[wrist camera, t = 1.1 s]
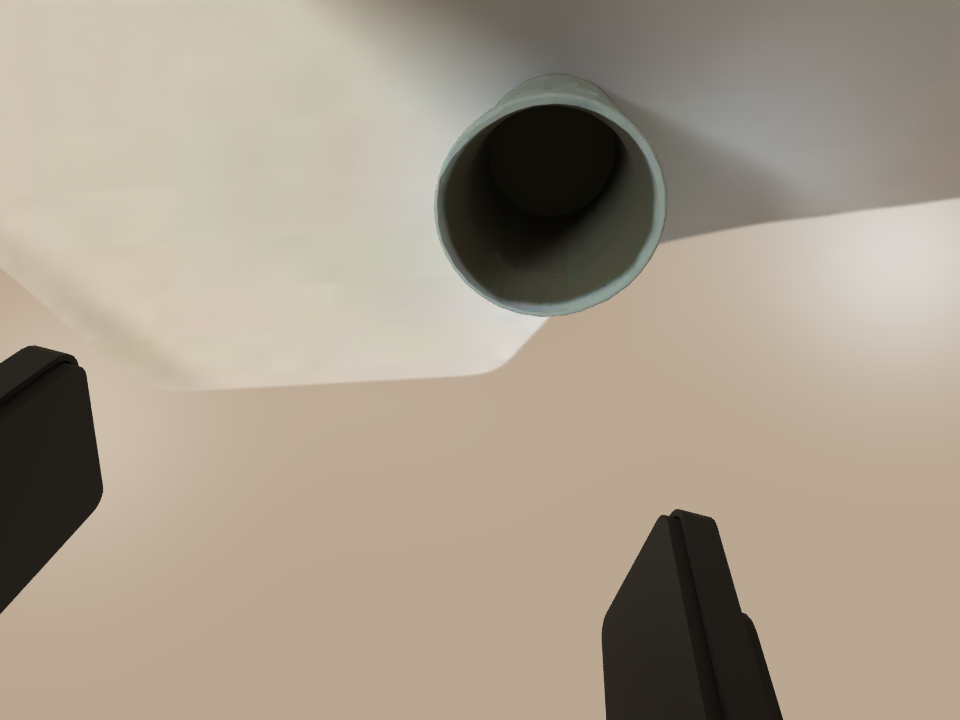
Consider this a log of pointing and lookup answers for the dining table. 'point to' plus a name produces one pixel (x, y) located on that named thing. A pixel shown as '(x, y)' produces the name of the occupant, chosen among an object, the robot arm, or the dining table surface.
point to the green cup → (550, 199)
